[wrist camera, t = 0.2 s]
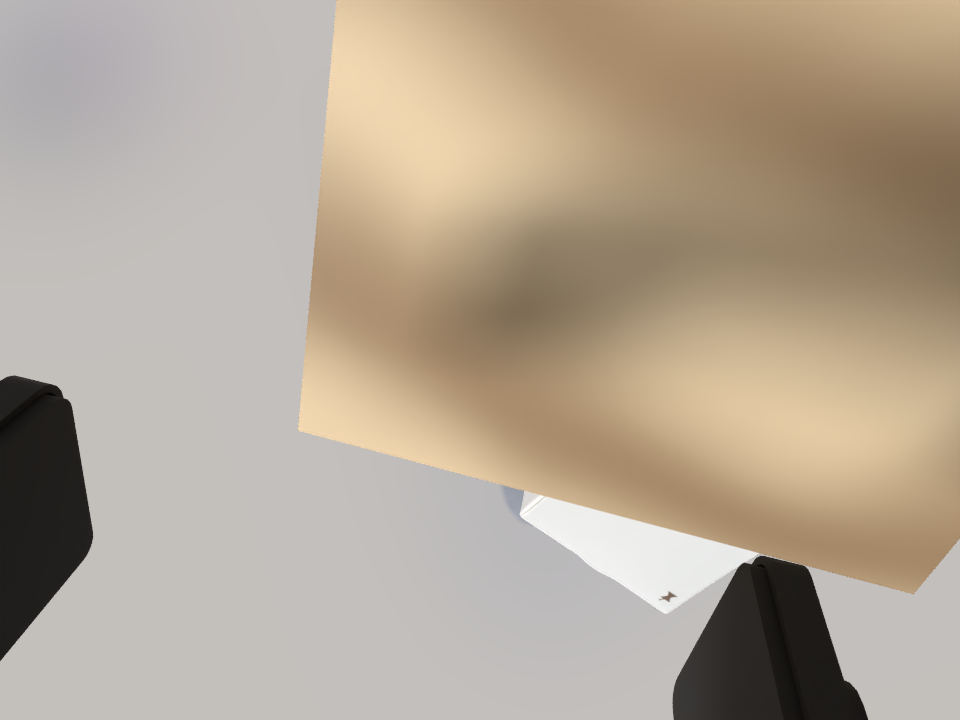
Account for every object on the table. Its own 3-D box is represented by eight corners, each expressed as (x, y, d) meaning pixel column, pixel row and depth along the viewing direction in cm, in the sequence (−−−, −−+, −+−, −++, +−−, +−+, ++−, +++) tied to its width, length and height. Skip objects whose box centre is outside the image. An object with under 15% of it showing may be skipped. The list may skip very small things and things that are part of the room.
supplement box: (759, 339, 41) (826, 521, 29) (650, 430, 46) (667, 623, 33) (642, 245, 40) (660, 396, 27) (540, 349, 44) (514, 521, 31)
